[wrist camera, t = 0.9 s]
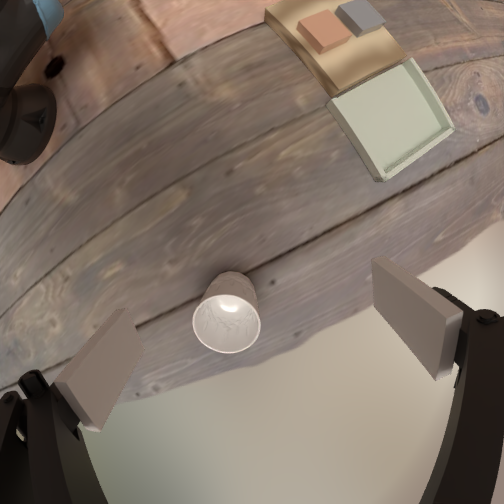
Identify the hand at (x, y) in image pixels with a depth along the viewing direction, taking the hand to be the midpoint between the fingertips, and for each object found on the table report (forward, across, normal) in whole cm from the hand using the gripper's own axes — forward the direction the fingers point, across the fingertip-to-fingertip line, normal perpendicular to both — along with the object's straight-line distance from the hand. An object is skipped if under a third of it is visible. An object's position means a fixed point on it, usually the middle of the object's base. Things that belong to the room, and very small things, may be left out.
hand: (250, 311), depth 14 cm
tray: (+26, +24, +12) cm, 37 cm away
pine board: (+26, +18, +26) cm, 41 cm away
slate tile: (+22, +21, +27) cm, 41 cm away
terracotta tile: (+22, +15, +24) cm, 36 cm away
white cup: (+26, -5, -9) cm, 28 cm away
